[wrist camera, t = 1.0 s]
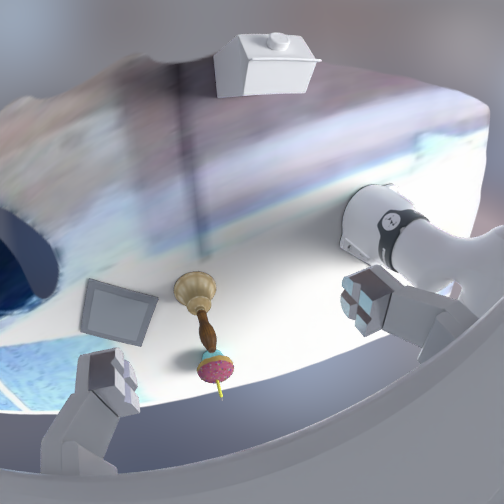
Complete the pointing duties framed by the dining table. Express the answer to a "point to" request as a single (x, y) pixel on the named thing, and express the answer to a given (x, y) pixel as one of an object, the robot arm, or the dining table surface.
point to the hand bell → (198, 302)
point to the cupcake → (215, 368)
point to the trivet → (117, 313)
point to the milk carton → (263, 65)
